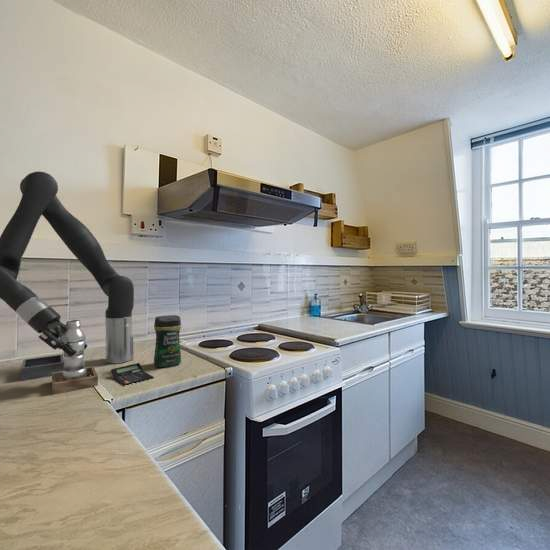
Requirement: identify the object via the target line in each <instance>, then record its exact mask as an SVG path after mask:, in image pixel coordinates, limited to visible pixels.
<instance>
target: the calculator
mask: <svg viewBox="0 0 550 550" xmlns="http://www.w3.org/2000/svg"><path fill="white" fill-rule="evenodd" d="M110 372H111V375H112V377H113V379H114V380H115V381H116V382H118V383H119V384H120V383H121V384H120V385H122V384H123V385H124V386H123V385H122V386H123V387H126V386H125V385H128V386H130V385H129V384H131V385H133V384H132V383H135V384H138V383H137V382H139V383H142V382H146V381H149V379H150V380H153V378H154V376H153V375H152V374H149V373H147V372H146V371H145V370H144V369H143V367H142V365H141V363H140V362H138V363H133V364H128V365H125V366H120V367H115V368H112V369H110ZM145 380H146V381H145ZM141 381H142V382H141Z"/></svg>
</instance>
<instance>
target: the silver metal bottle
mask: <svg viewBox="0 0 550 550" xmlns="http://www.w3.org/2000/svg"><path fill="white" fill-rule="evenodd" d="M66 324H67V326H66V328H67V330H66V331H65V332H64V335H65V337H64V339H65V341H66V342H67V344H69V345H71V346H72V347H73V348H74V349H75V350H76V351H77V353H76V354H75V355H74V356H72V357H70V356H69V355H68V354H66V353H65V352H64V351H63V350H62V352H63V357H64V370H63V374H62V379H63V381H69V380H74V379H80V378H86V376H87V372H86V368H85V367H86V364H85V362H86V361H85V350H84V346H85V344H86V334H85V332H84V331H83V330H82V329H81V326H82V325H81V319H72V320H71V319H70V320H67V321H66ZM63 381H62V382H63Z"/></svg>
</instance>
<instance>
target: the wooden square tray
mask: <svg viewBox="0 0 550 550" xmlns="http://www.w3.org/2000/svg"><path fill="white" fill-rule="evenodd" d="M85 368H86V372H87V376H86V378H80V379H74V380H69V381H63V379H62V374H63V371H60V372H54V373H52V376H51V387H52V389H51V391H52V395H58V394H62V393H67V392H71V391H73V392H74V391H77V390H83V389H87V388H93V387H96V386H95V385H98V386H99V376H98V373H97V370H96V368H95V367H94V366H85ZM90 375H91V376H90Z"/></svg>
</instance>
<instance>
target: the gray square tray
mask: <svg viewBox="0 0 550 550" xmlns="http://www.w3.org/2000/svg"><path fill="white" fill-rule="evenodd" d="M63 370H64V353H63V354H56V355H47V356H41V357H40V356H39V357H34V358H26V359H23V360H22V363H21V369H20V372H21V375H20V377H21V378H20V379H21V381H22V382H24V381H28V380H36V379H41V378H46V377H52V373H54V372H60V371H63Z"/></svg>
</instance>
